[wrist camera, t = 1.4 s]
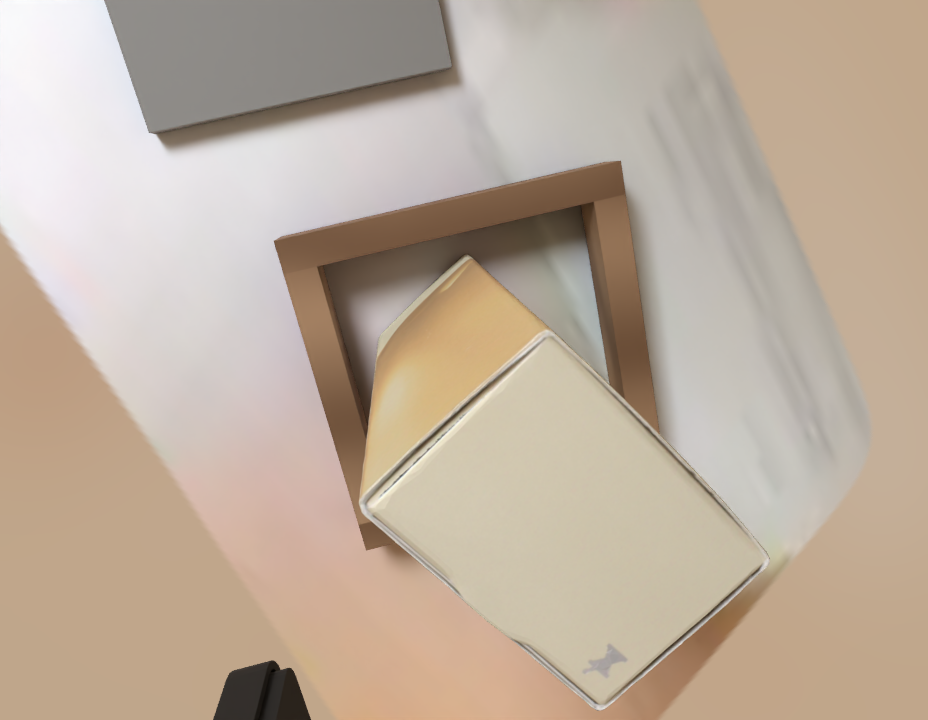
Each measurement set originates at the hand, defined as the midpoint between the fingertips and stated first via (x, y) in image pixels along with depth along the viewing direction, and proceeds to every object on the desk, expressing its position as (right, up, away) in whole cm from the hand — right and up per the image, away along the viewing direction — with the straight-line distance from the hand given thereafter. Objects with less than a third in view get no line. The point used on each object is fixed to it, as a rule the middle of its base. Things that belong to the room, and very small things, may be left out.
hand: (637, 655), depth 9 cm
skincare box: (-2, +4, +14) cm, 14 cm away
